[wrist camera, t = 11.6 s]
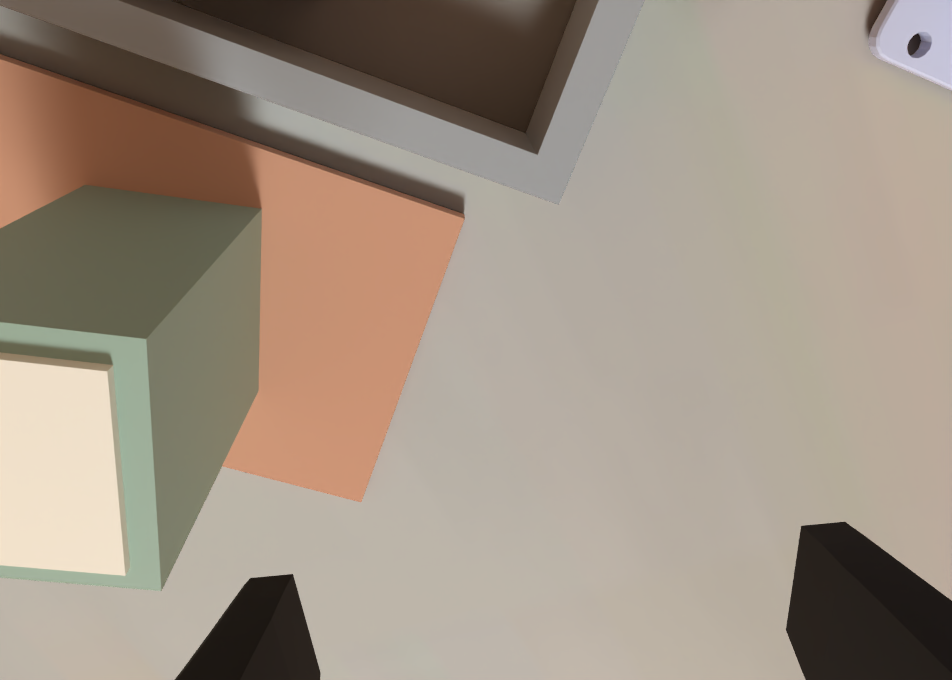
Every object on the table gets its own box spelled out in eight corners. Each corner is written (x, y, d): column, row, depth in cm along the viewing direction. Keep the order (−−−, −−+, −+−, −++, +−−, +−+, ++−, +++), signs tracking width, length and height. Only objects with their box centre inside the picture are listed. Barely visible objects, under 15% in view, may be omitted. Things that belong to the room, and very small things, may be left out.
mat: (464, 214, 17) (464, 219, 17) (362, 493, 21) (361, 502, 20) (-64, 32, 15) (-77, 32, 15) (-75, 379, 19) (-85, 386, 18)
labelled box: (261, 208, 16) (140, 344, 10) (258, 390, 19) (156, 599, 12) (85, 184, 16) (-160, 310, 10) (102, 373, 18) (-88, 579, 12)
